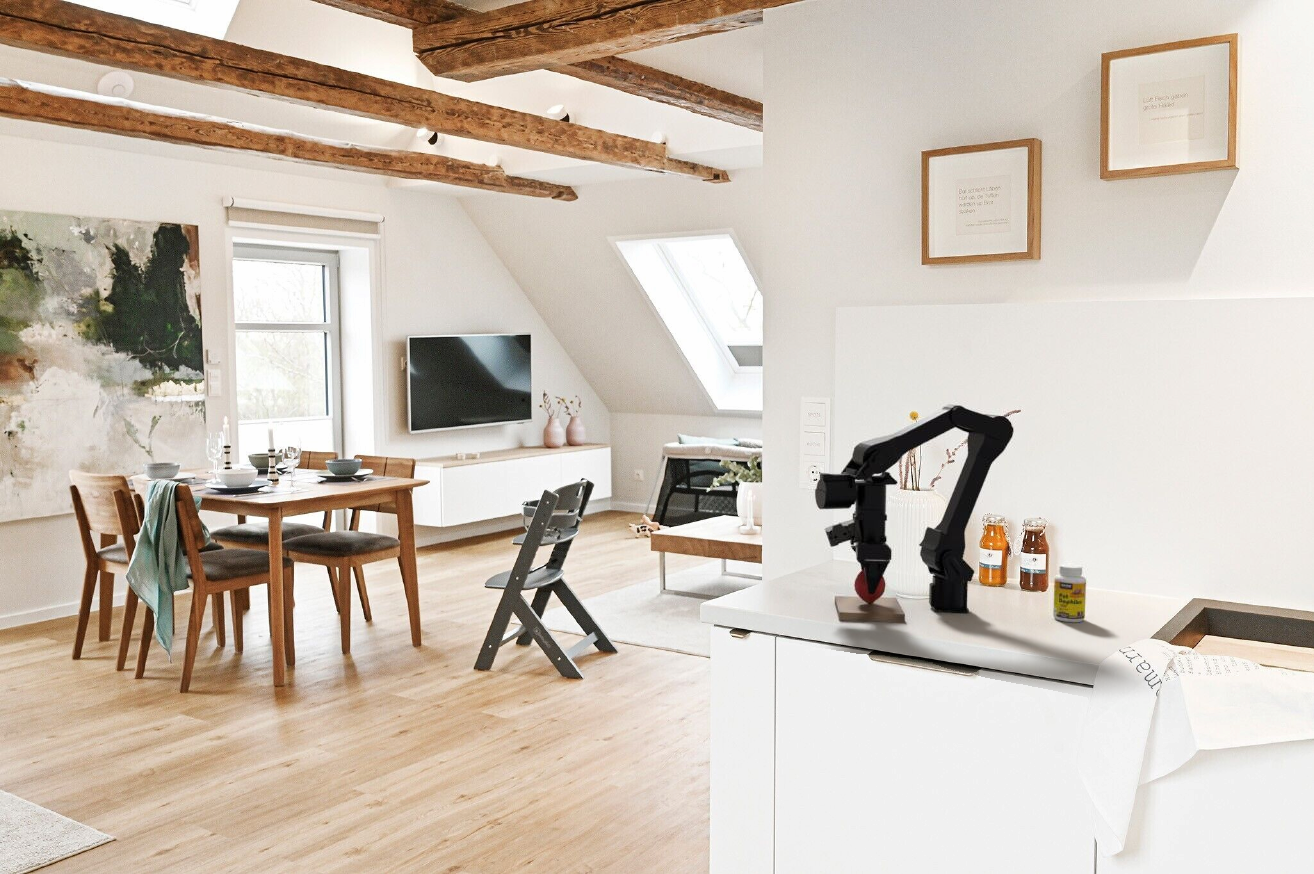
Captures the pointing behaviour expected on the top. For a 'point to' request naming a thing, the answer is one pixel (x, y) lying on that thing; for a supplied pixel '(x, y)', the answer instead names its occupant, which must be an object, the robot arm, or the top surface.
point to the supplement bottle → (1069, 594)
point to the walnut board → (869, 609)
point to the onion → (863, 590)
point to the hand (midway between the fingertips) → (869, 588)
